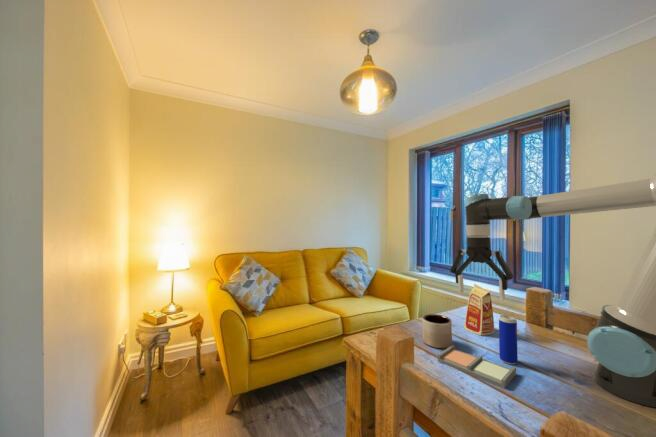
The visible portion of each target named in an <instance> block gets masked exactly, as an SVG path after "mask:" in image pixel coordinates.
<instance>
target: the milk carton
mask: <svg viewBox="0 0 656 437" xmlns="http://www.w3.org/2000/svg"><path fill="white" fill-rule="evenodd" d="M473 285H474V287H473V288H472V289H471V290H470V291H469V292H470V293H469V296H468V300H467V306H466V312H465V317H464V326H463V329H464V330H466V331H468V332H471V333H472V334H473V333H474V334H476V335H479V336H487V335H492V334H493V333H494V332H495V320H494V312H493V311H494V308H493V303H492V295H491V292H492V291H491V290H489V289H486V288H483V287H482V286H480V285H478V284H476V283H473Z"/></svg>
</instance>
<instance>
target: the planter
mask: <svg viewBox="0 0 656 437" xmlns="http://www.w3.org/2000/svg"><path fill="white" fill-rule="evenodd" d="M452 327H453V326H452V319H451V318H450V317H447V316H445V315H441V314H434V313H432V314H431V313H429V314H425V315H423V316H422V342H423V343H424V344H425V345H426V346H428V347H430V348H434V349H440V350H441V349H443V350H445V349H447V348H449V347H450V346H451V345H453V335H452V334H453V333H452V331H453V328H452Z"/></svg>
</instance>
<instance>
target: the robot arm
mask: <svg viewBox="0 0 656 437" xmlns="http://www.w3.org/2000/svg"><path fill="white" fill-rule="evenodd" d="M649 207H651V208H652V207H656V174H654V176H652V177H651V178H646V179H640V180H639V179H638V180H632V181H625V182H621V183H615V184H614V183H613V184H608V185H607V184H605V185H602V186H595V187H589V188H582V189H574V190H568V191H563V192H561V191H560V192H555V193H550V194H548V193H547V194H542V195H537V196H530V197H528V196H526V195H512V196H505V197H504V196H503V197H496V198H491V197H489V194H488V193H472V194H468V195H466V197H465V207H464V208H465V219H466V220H465V221H466V222H465V224H466V226H465V227H466V231H465V232H466V236H467V238H466V249H464V248H459V249H458V250H457V256H456V258H455V260H454V262H453V264H452V266H451V267H450V271H449V272H450V273H451V274H454V275H455V283H456V284H457V285H458V288H457V289H458V294H462V293H464V291H465V290H464V275H463V274H462V272H464V271H465V269H466V268H467V267H469V265H470V264H471V263H472V262H473V263H479V264H485V263H486V265H488V267H489V268H491V269H492V271H493V272H494V273H495V274H496V275H497V276H498V277H499V278H500V279H499V280H498V287H499V288H498V289H499V290H498V291H499V293H498V294H499V300H500V301H503V300H505V299H506V296H505V295H506V294H505V291H507V290H508V287H509V286H508V280H509V281H510V280H512V279H514V276H515V275H514V274H513V273H512V271H511V269H510V267H509V266H508V263H506V261H505V259H504V258H503V253H502V251H501V250H497V251H492V247H491V246H492V244H491V237H490V236H491V223H490V222H491V221H494V220H496V221H497V220H499V221H500V220H501V221H504V220H505V221H506V220H507V221H508V220H516V221H517V220H519V221H520V220H532V219H540V218H546V217H548V218H549V217H558V216H559V217H560V216H569V215H579V214H588V213H589V214H591V213H597V212H599V213H600V212H608V211H619V210H630V209H640V208H649ZM465 255H467V256H468V257H467V259H466V260H465V261H464V262H463V263H462V264H461V265H460V263H461V262H462V260H463V258H464V256H465ZM492 256H494V258H496V260H497V262H498V264H499V265H500V268H499V266H498V265H497V264H496V263H495V262H494V261H493V259H492V258H491V257H492ZM600 314H601V315H600V316H599V319H598V320H597V322H596V324H595V326H594V328H593V329H592V330H590V331H589V333H588V335H587V340H586V341H587V347H588V350H589V352H590V354H591V355H592V357H593V359H595V360H596V362H598V363H597V365H596V368H595V370H594V381H595V382H596V384H598V386H599V387H600V388H602V389H604V390H606V391H607V392H609V393H611V394H613V395H615V396H616V397H619V398H621V399H624V400H627V401H629V402H632V403H636V404H639V405H642V406H646V407H652V408H656V227H655V229H654V231H653V232H652V234H651V236H650V238H649V240H648V242H647V244H646V246H645V247H644V250H643V252H642V254H641V256H640V258H639V259H638V262H637V264H636V266H635V267H634V269H633V272H632V273H631V275H630V277H629V278H628V281H627V282H626V285H625V286H624V288H623V291H622V292H621V294H620V296H619V298H618V300H617V302H616V304H613V305H612V304H605V305H603V306H602V307H601V311H600Z"/></svg>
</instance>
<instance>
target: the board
mask: <svg viewBox="0 0 656 437" xmlns="http://www.w3.org/2000/svg"><path fill="white" fill-rule="evenodd" d="M437 362H438V363H442V364H444V365H446V366H449V367H452V368H454V369H456V370H458V371H461V372H462V373H466V374H467V375H470V376H473V377H475V378H478V379H480V380H483V381H484V382H485V381H486V382H487V383H490V384H492V385H495V386H498V387H500V388H502V389H505V388H506V387H508V385H509V384H510V382H511V381H512V380H513V378H515V376H517V366H514V365H512V366H511V368H510V367H506V366H503V365H501V364H499V363H497V362H496V363H495V362H492V361H490V360H488V359H487V360H486V359H484V358H483V355H480V354H479V355H478V356H475V355H473V354H470V353H467V352H464V351H462V350H459V349H456V347H455V345H454V344H452V345H451V346H450V347H448V348H445V349H443V351H441V352H440V353H438V354H437Z"/></svg>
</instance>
